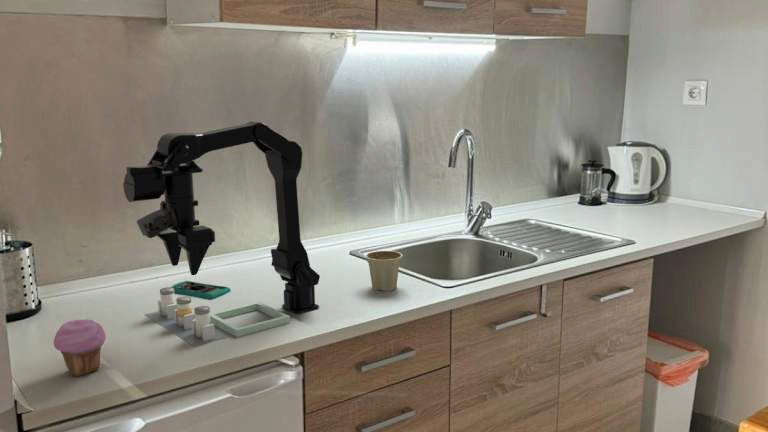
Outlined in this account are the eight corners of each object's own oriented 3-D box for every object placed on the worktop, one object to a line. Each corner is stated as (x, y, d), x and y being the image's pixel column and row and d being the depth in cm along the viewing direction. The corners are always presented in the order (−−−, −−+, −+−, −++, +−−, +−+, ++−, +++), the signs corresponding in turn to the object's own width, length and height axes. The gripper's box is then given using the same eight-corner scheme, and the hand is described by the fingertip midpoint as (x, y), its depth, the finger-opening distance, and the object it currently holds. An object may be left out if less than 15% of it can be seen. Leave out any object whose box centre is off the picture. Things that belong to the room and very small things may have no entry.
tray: (259, 312, 168) (259, 301, 167) (290, 327, 158) (290, 316, 158) (208, 325, 160) (207, 314, 159) (237, 342, 150) (236, 330, 150)
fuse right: (207, 332, 153) (205, 304, 151) (214, 336, 150) (212, 308, 149) (193, 335, 151) (191, 308, 149) (200, 339, 148) (198, 312, 147)
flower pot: (358, 288, 186) (357, 255, 184) (383, 280, 193) (383, 248, 191) (385, 295, 180) (384, 262, 178) (409, 287, 186) (410, 254, 185)
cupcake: (71, 385, 131) (65, 332, 128) (49, 372, 136) (43, 321, 134) (117, 369, 137) (112, 319, 135) (94, 357, 143) (89, 309, 141)
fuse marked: (189, 321, 159) (187, 295, 158) (195, 325, 157) (193, 298, 155) (175, 324, 157) (173, 298, 156) (181, 328, 155) (180, 301, 153)
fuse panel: (178, 311, 169) (177, 294, 168) (230, 342, 150) (229, 322, 149) (144, 319, 164) (143, 301, 163) (194, 352, 145) (193, 332, 144)
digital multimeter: (185, 289, 187) (184, 278, 186) (232, 297, 180) (231, 286, 180) (165, 298, 180) (164, 286, 180) (213, 306, 174) (212, 294, 173)
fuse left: (172, 311, 165) (170, 286, 164) (178, 315, 163) (176, 289, 162) (159, 314, 163) (157, 289, 162) (165, 318, 161) (163, 292, 160)
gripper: (122, 194, 149) (129, 267, 152) (159, 207, 135) (165, 288, 138) (174, 188, 156) (179, 258, 159) (214, 200, 142) (218, 277, 145)
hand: (184, 270), depth 150 cm, fingers open, 9 cm apart
